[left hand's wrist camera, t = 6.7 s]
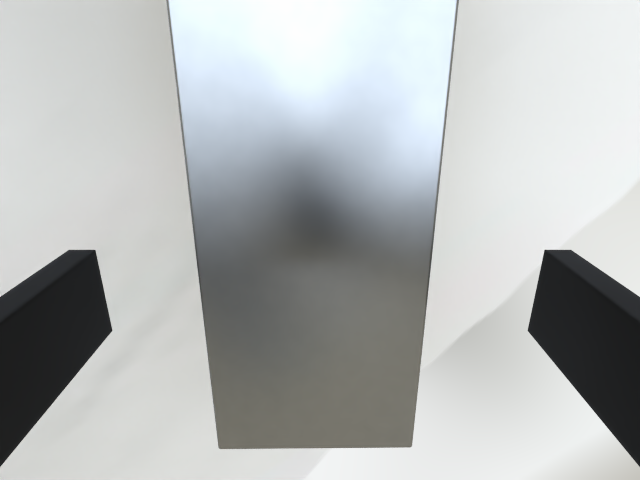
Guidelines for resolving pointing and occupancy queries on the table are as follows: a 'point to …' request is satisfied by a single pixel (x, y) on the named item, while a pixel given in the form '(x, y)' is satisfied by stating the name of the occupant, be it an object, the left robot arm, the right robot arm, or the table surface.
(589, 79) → the table surface
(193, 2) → the bar
